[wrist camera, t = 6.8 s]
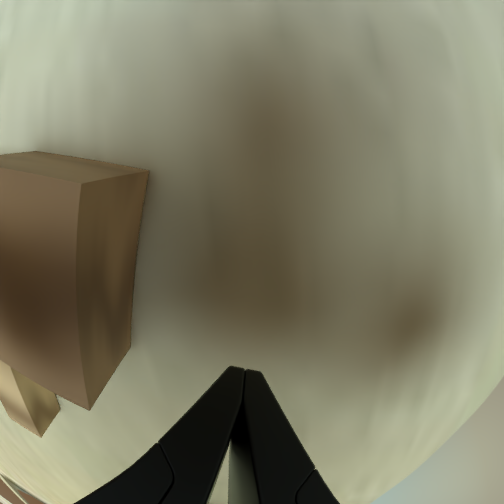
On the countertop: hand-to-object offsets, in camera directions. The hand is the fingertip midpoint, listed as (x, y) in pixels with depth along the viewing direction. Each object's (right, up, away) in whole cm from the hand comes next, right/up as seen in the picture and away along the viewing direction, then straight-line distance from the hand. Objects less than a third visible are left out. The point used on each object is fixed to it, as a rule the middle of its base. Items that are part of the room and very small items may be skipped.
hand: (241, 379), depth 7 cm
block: (-7, +3, +4) cm, 9 cm away
